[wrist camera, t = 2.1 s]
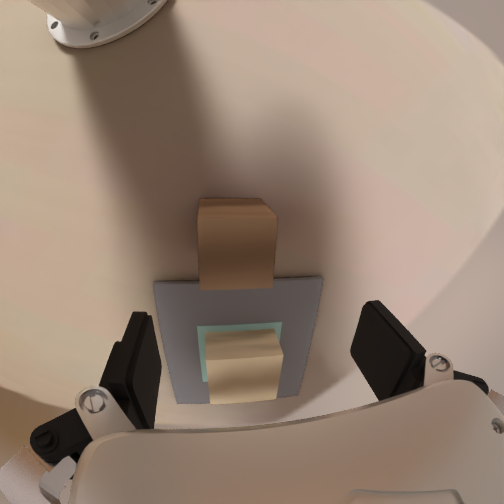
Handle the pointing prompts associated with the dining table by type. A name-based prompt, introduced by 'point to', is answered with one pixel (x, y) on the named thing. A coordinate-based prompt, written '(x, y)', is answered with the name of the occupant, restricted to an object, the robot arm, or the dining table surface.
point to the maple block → (243, 365)
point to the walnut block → (236, 243)
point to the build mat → (234, 327)
